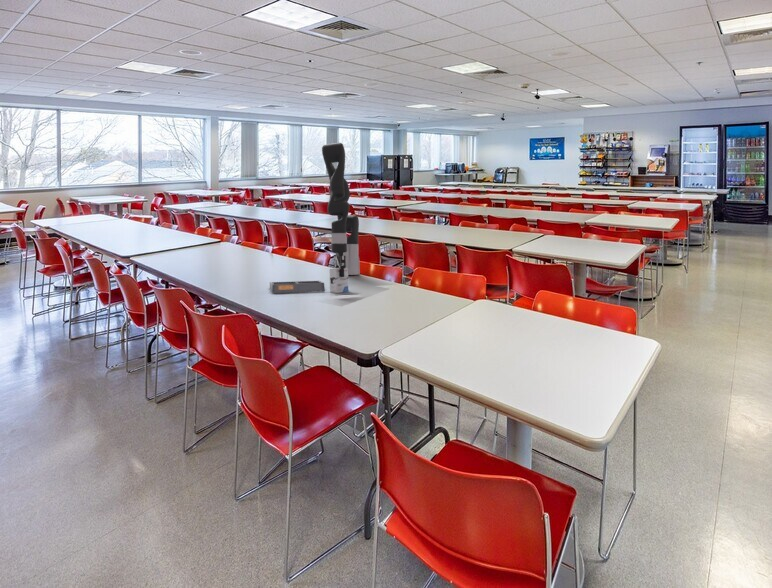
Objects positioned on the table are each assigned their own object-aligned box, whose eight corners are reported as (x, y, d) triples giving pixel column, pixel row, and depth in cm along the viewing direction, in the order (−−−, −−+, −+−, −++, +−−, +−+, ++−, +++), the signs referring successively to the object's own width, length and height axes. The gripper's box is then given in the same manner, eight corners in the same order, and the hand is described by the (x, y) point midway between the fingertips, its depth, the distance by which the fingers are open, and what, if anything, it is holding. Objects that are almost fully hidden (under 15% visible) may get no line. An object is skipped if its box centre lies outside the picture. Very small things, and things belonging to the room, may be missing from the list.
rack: (318, 289, 249) (318, 280, 249) (324, 291, 236) (324, 282, 236) (269, 290, 241) (269, 282, 240) (272, 293, 228) (272, 284, 228)
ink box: (341, 290, 240) (341, 267, 238) (348, 291, 237) (348, 267, 235) (329, 292, 233) (328, 268, 232) (336, 293, 230) (336, 268, 229)
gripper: (350, 242, 227) (351, 277, 229) (342, 242, 240) (343, 274, 242) (335, 243, 224) (335, 278, 227) (328, 242, 238) (328, 275, 240)
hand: (339, 276), depth 235 cm, fingers open, 7 cm apart
